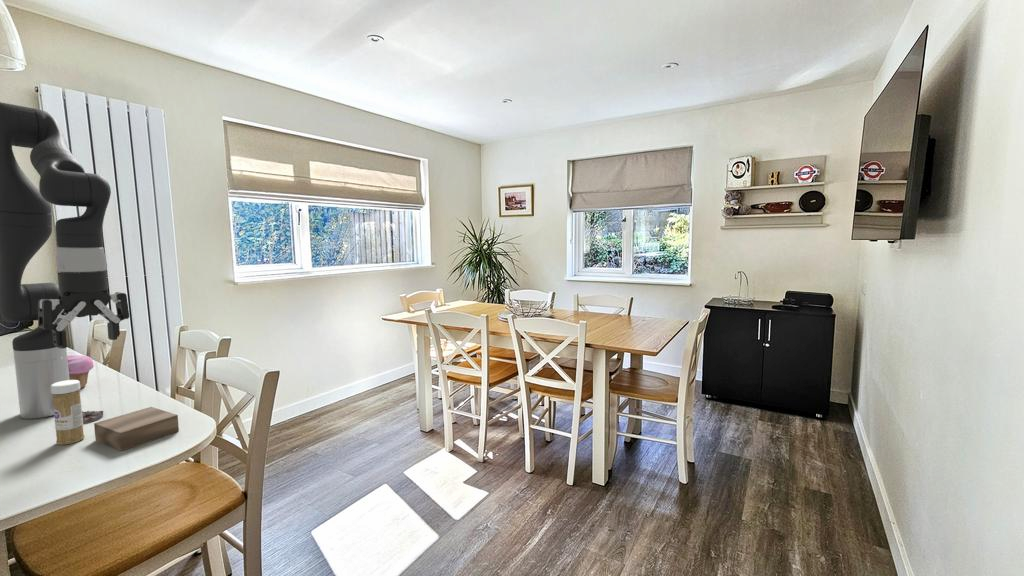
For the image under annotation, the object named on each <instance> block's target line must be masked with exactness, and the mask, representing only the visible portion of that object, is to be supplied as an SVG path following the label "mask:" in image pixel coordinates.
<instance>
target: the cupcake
mask: <svg viewBox="0 0 1024 576" xmlns="http://www.w3.org/2000/svg"><path fill="white" fill-rule="evenodd" d="M67 359H68V369H69V379H70V380H78V381H80V389H82V388H84V387H86V386H87V384H88V378H89V372H90V371H91V370H92V369H93V368H94V366H95V365H94V360H93V359H92V358H91V357H90V356H88V355H80V354H79V355H77V354H75V355H74V354H70V355H67Z"/></svg>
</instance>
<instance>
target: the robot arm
mask: <svg viewBox="0 0 1024 576" xmlns="http://www.w3.org/2000/svg"><path fill="white" fill-rule="evenodd" d="M13 146H14V147H19V148H25V149H31V151H30V154H29V158H30V163H31V165H32V167H33V168H34V170H35V171H36V172H37V174H38V176H40V178H39V188H38V187H37V186H36V185H35V184H34V182H32V180H30V178H29V177H28V176H27V175H26V174H25V172H24V171H23V170H22V168H21V166H20V165H19V163H18V162H17V160H16V156H15V155H14V154H15V153H14V151H13ZM111 189H112V188H111V186H110V183H109V182H108V180H107V179H106V178H105V177H104V176H102V175H100V174H97V173H91V172H90V173H89V172H86V171H85V170H84V167H83V166H82V165H81V163H80V162H79V160H77V158H76V157H75V156H74V155H73V153H72V152H71V151H70V149H69V147H68V143H67V141H66V138H65V136H64V134H63V132H62V129H61V127H60V124H59V123H58V121H57V119H56V118H55V116H53V115H52V113H49V112H48V111H45V110H42V109H38V108H35V107H28V106H23V105H18V104H12V103H6V102H1V101H0V317H1V319H2V320H3V321H5V322H6V323H11V324H12V323H13V324H14V323H24V322H32V321H33V322H34V321H37V327H35V328H34V329H32V330H30V331H28V332H25V333H22V334H19V335H18V336H16V337H14V338H13V339H12V342H11V343H12V351H13V361H14V370H15V377H16V385H17V386H16V388H17V395H18V396H17V397H18V405H19V406H18V407H19V415H20V418H21V419H27V420H30V419H40V418H46V417H51V416H54V402H53V395H52V393H51V385H52V384H54V383H57V382H60V381H66V380H70V379H69V369H68V359H67V356H68V353H67V348H68V342H67V331H66V327H67V326H68V325H69V323H71V322H72V321H74V319H75V318H76V317H77V318H84V317H87V316H92V317H93V316H98V315H100V316H101V317H103V318H104V319H105V320H106V321H107V322H106V323H107V325H106V326H107V338H108V340H111V341H116V340H118V337H120V336H121V335H120V334H121V331H120V328H121V327H120V323H121V321H123V320H128V319H129V318H130V311H129V303H128V296H127V294H126V293H125V292H121V291H120V292H119V291H118V292H117V291H116V292H115V293H111V294H110V293H109V284H108V283H109V281H108V270H107V267H108V263H107V258H106V254H105V249H104V238H103V237H104V236H103V225H104V220H105V216H106V212H107V208H108V206H109V202H110V199H111V194H112V191H111ZM51 205H55V206H62V207H83V208H85V211H84V212H83V213H82V214H81V215H79V216H74V217H73V216H71V217H64V218H60V219H57V220H56V222H55V225H54V227H55V228H54V229H55V238H56V239H55V240H56V257H55V258H56V262H55V263H56V271H57V272H56V273H57V283H58V284H57V283H54V282H42V283H41V282H40V283H39V282H38V283H22V279H23V275H24V272H25V269H26V267H27V266H28V264H29V262H31V259H33V257H34V256H35V255H36V254H37V253H38V252H39V250H40V249H42V247H43V246H44V245H45V244H46V242H47V241H48V240H49V238H50V237H51V235H52V232H53V219H52V218H53V215H52V206H51ZM111 300H112V301H111ZM110 302H113V303H114V304H115V309H116V314H115V313H114V312H113V311H112V310H111V309H110V308H109V307H108V304H109V303H110Z"/></svg>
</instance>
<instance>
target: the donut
mask: <svg viewBox="0 0 1024 576" xmlns="http://www.w3.org/2000/svg"><path fill="white" fill-rule="evenodd" d="M82 417H83V425H85V424H88V423H93V422H96V421H100V420H101V419H103V417H104V410H87V411H83V410H82Z"/></svg>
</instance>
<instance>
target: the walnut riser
mask: <svg viewBox="0 0 1024 576" xmlns="http://www.w3.org/2000/svg"><path fill="white" fill-rule="evenodd" d="M93 425H94V438H95V441H96V442H98V443H101V444H104V445H106V446H108V447H111V448H114V449H116V450H118V451H121V452H123V451H124V452H125V451H127V450H129V449H132V448H136V447H137V446H141V445H144V444H146V443H149V442H152V441H155V440H158V439H160V438H164V437H166V436H170V435H172V434H174V433H177V431H178V432H179V431H180V430H179V416H178V414H175V413H172V412H169V411H166V410H162V409H159V408H156V407H155V406H154V407H153V406H149V407H146V408H145V407H144V408H142V409H139V410H136V411H131V412H128V413H125V414H122V415H117V416H115V417H111V418H107V419H104V420H101V421H100V420H99V421H98V422H95V423H94V424H93Z"/></svg>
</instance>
